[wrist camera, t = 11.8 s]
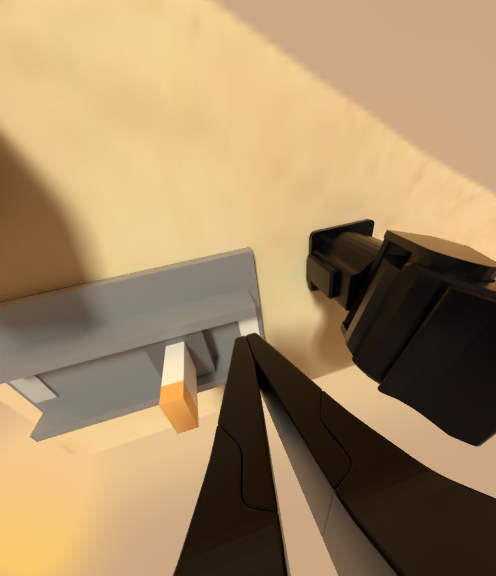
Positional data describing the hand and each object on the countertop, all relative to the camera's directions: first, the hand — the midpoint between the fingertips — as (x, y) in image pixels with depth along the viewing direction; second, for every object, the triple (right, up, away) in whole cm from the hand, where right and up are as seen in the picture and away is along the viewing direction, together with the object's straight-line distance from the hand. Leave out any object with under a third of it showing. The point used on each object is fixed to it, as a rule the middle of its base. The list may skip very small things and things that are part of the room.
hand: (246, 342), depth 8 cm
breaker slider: (-7, -3, +13) cm, 15 cm away
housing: (-10, -4, +14) cm, 17 cm away
